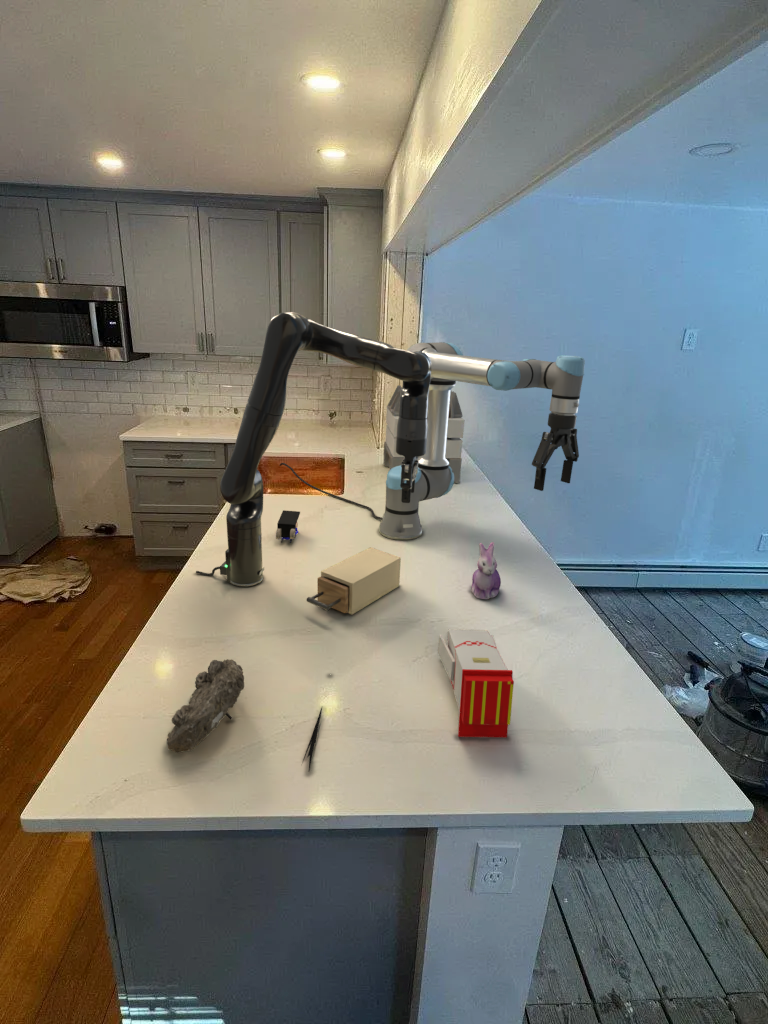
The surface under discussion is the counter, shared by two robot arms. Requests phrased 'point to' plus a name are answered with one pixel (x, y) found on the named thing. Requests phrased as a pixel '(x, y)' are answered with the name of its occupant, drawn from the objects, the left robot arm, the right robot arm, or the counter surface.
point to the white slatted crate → (453, 434)
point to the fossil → (206, 705)
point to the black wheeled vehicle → (287, 525)
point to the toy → (478, 682)
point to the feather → (313, 740)
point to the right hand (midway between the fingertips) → (552, 485)
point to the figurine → (486, 574)
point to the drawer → (331, 595)
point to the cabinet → (366, 576)
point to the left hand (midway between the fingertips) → (407, 497)
